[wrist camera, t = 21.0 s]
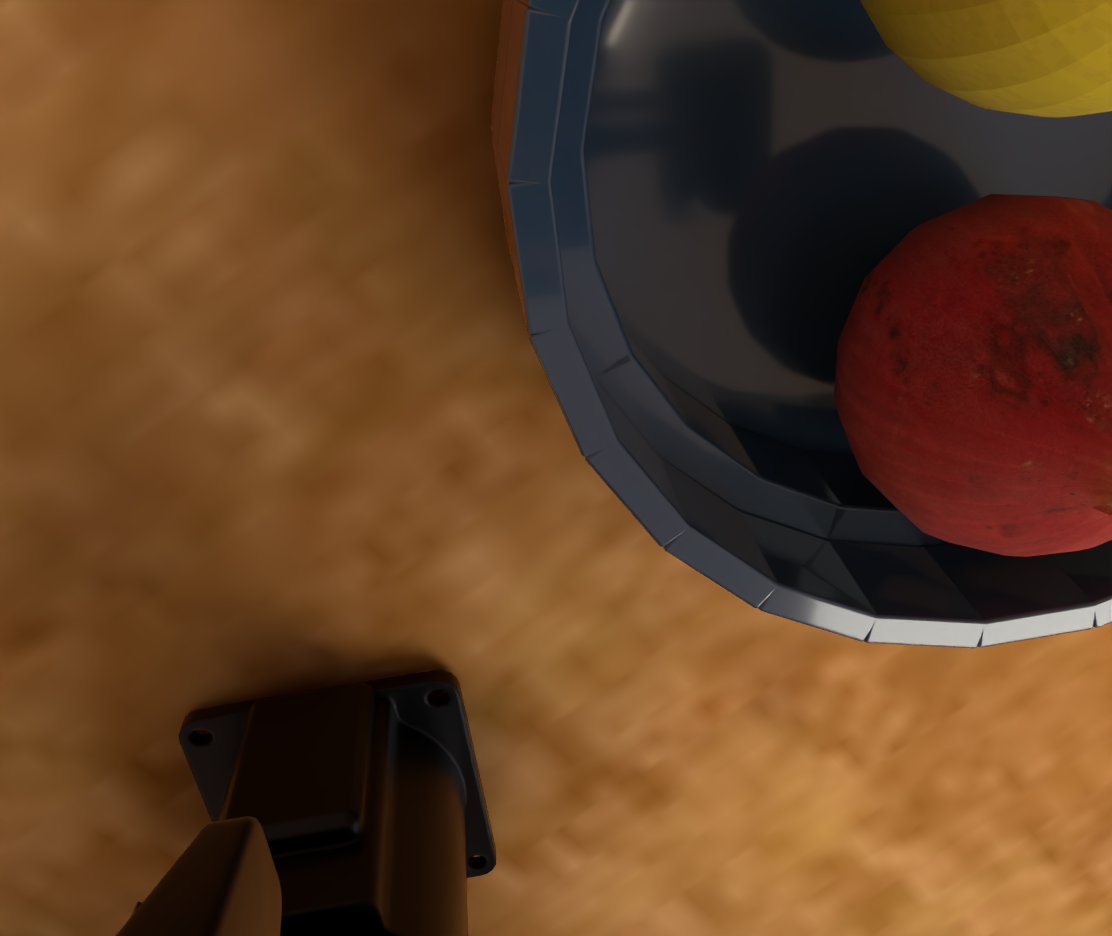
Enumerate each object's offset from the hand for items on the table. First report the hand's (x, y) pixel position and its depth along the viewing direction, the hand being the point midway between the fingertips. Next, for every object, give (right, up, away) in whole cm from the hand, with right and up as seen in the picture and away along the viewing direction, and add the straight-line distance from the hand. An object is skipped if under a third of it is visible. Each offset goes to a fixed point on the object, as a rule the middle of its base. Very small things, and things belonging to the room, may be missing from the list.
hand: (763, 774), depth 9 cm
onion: (+5, +6, +11) cm, 14 cm away
